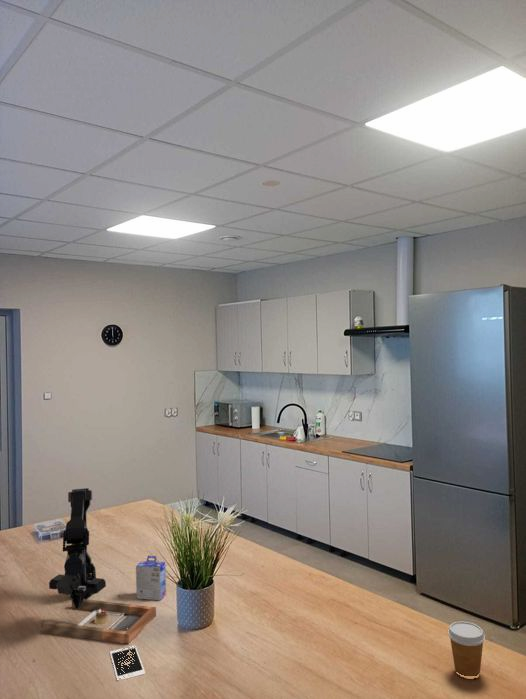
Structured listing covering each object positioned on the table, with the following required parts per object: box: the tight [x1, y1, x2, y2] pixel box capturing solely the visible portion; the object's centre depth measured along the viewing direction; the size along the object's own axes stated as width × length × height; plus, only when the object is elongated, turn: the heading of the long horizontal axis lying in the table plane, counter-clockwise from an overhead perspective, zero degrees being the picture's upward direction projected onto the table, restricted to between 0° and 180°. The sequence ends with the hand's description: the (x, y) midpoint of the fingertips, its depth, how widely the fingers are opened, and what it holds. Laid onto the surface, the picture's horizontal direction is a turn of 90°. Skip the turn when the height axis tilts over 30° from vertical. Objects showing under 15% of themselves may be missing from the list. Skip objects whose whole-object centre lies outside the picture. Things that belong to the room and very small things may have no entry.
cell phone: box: [109, 645, 146, 681], centre depth 158 cm, size 8×16×1 cm, turn 23°
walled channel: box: [40, 598, 157, 645], centre depth 181 cm, size 32×18×3 cm, turn 74°
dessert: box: [77, 609, 125, 629], centre depth 183 cm, size 12×12×5 cm
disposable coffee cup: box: [447, 621, 486, 676], centre depth 148 cm, size 10×10×12 cm
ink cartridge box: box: [135, 555, 167, 601], centre depth 200 cm, size 10×6×14 cm, turn 78°
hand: (78, 608), depth 183 cm, fingers closed
